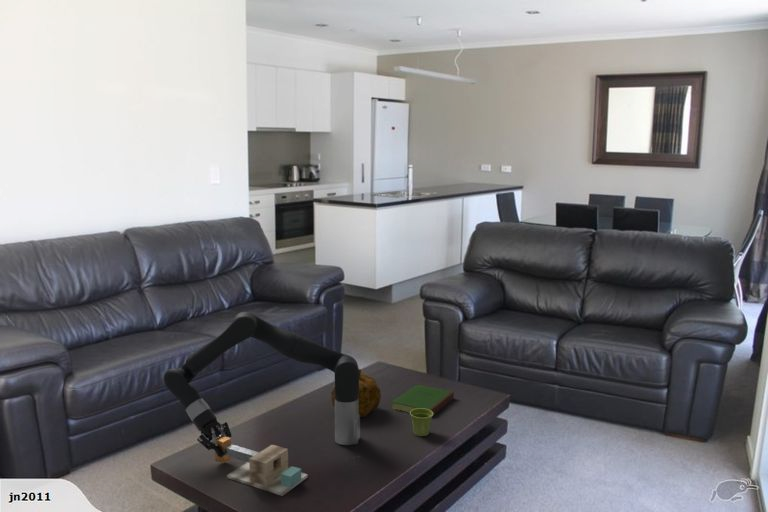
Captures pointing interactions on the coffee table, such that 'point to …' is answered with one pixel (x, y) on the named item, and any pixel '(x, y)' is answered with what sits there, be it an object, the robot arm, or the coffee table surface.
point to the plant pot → (421, 421)
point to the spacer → (291, 476)
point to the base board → (275, 487)
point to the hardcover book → (423, 399)
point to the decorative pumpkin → (365, 394)
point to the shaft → (232, 451)
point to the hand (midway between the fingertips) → (227, 453)
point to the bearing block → (268, 464)
